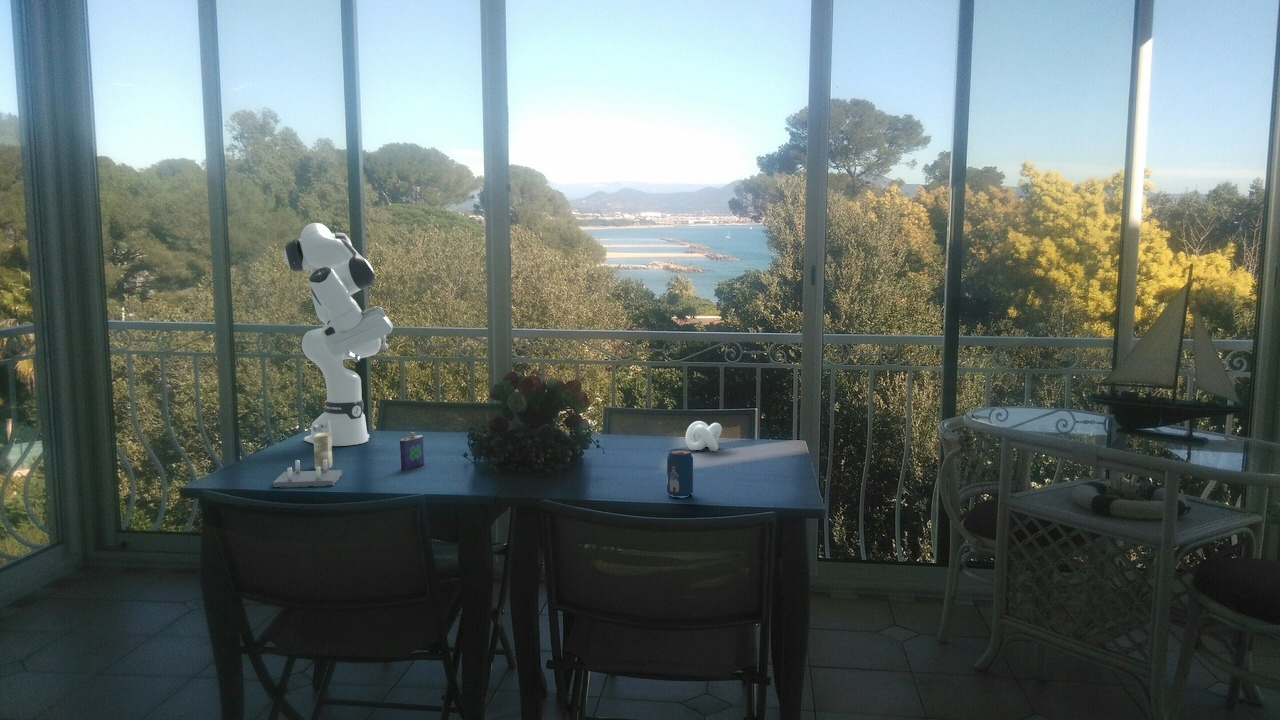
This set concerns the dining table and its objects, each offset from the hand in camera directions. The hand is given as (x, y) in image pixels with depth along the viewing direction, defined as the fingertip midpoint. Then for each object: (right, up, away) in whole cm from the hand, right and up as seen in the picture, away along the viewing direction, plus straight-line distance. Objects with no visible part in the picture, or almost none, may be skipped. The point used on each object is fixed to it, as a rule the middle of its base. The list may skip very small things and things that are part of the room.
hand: (372, 354), depth 282 cm
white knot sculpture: (+102, -31, +18) cm, 108 cm away
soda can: (+92, -38, -36) cm, 106 cm away
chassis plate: (-12, -36, -21) cm, 43 cm away
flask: (+14, -34, -5) cm, 37 cm away
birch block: (-13, -34, -5) cm, 37 cm away
